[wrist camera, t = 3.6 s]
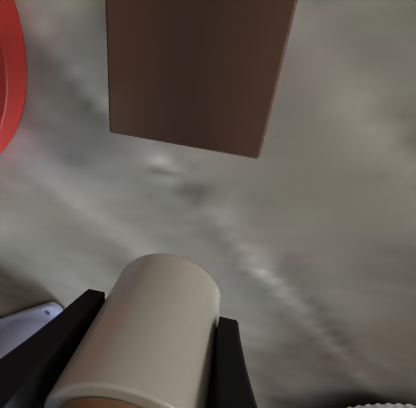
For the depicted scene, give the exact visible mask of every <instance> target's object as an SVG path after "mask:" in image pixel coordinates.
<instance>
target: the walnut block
mask: <svg viewBox="0 0 416 408" xmlns="http://www.w3.org/2000/svg"><path fill="white" fill-rule="evenodd" d="M296 4H297V0H106V25H107V56H108V88H109V120H110V132H112V133H117V134H123V135H128V136H134V137H139V138H145V139H150V140H156V141H161V142H167V143H173V144H178V145H184V146H189V147H195V148H200V149H206V150H211V151H217V152H222V153H228V154H233V155H239V156H244V157H250V158H256V159H257V158H259V157H260V153H261V149H262V145H263V140H264V136H265V132H266V128H267V124H268V120H269V116H270V112H271V107H272V103H273V99H274V95H275V91H276V87H277V83H278V79H279V74H280V70H281V66H282V62H283V58H284V54H285V50H286V46H287V41H288V37H289V33H290V29H291V25H292V21H293V17H294V13H295V8H296Z"/></svg>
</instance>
